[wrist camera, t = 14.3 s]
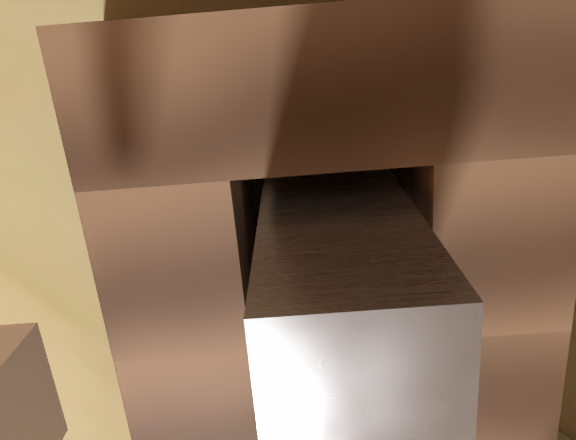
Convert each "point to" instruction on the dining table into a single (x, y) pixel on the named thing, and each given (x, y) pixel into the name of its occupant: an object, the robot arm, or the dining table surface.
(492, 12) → the socket block
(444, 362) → the square peg
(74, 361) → the dining table surface
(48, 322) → the dining table surface
